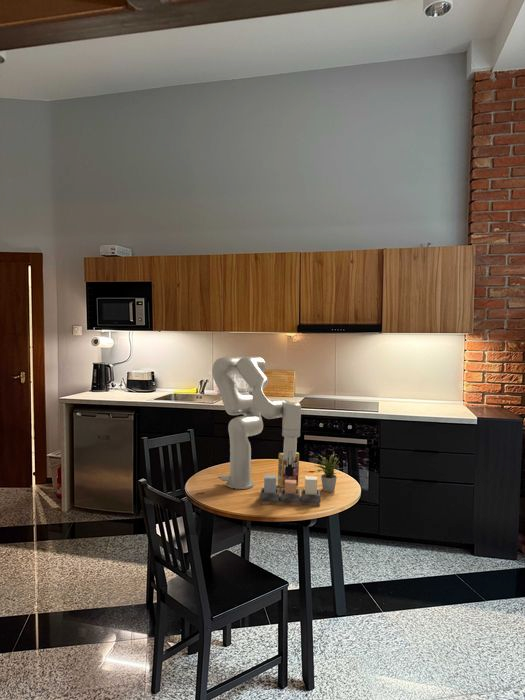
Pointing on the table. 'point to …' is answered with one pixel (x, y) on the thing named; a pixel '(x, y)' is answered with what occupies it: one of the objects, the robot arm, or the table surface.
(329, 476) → the house plant
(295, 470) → the candy box
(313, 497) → the button board
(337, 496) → the table surface
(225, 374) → the robot arm
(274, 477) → the slate button
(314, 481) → the cream button
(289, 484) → the terracotta button
